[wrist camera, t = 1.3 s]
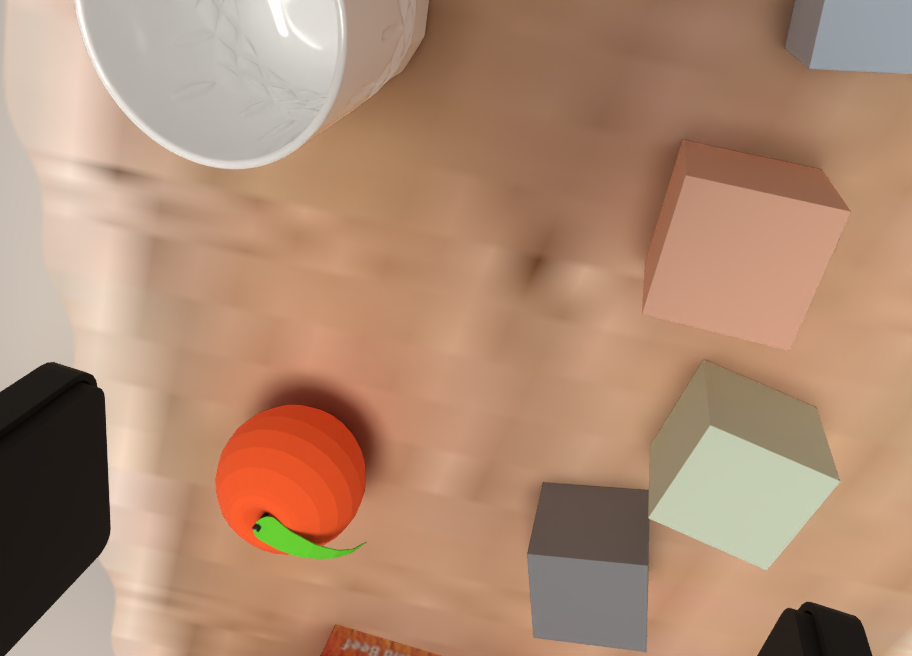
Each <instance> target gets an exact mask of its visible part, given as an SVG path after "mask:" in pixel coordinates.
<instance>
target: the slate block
mask: <svg viewBox="0 0 912 656" xmlns="http://www.w3.org/2000/svg"><path fill="white" fill-rule="evenodd" d="M785 49H786V50H787V51H788V52H789V53H791V54H792V55H793V56H794V57H796V58H797V59H798V60H799V61H800V62H802V63H803V64H804V65H805V66H806V67H808V68H809V69H823V70H842V71H861V72H880V73H899V74H912V0H795V2H794V7H793V12H792V17H791V21H790V26H789V31H788V36H787V40H786V45H785Z"/></svg>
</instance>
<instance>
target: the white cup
mask: <svg viewBox="0 0 912 656" xmlns="http://www.w3.org/2000/svg"><path fill="white" fill-rule="evenodd" d="M74 3H75V10H76V15H77V20H78V24H79V28H80V32H81V35H82V38H83V41H84V44H85V47H86V50H87V52H88V55H89V57H90V59H91V62H92V64H93V66H94V68H95V70H96V72H97V74H98V76H99V77H100V79H101V81H102V83H103V84H104V86H105V88H106V89H107V91H108V92H109V94H110V95H111V97H112V98H113V99H114V101H115V102H116V103H117V105H118V106H119V107H120V108H121V110H122V111H123V112H124V113H125V114H126V115H127V116H128V117H129V119H130V120H131V121H132V122H133V123H134V124H135V125H136V126H137V127H139V128H140V129H141V130H142V131H143V132H144V133H145V134H146V135H148V136H149V137H150V138H151V139H153V140H154V141H156V142H157V143H158V144H160V145H161V146H163V147H164V148H166V149H168V150H169V151H171V152H173V153H175V154H177V155H179V156H181V157H183V158H185V159H188V160H190V161H193V162H196V163H199V164H202V165H206V166H210V167H215V168H223V169H248V168H255V167H260V166H263V165H267V164H270V163H273V162H275V161H278V160H280V159H282V158H284V157H286V156H287V155H289V154H291V153H292V152H294V151H295V150H297V149H298V148H300V147H301V146H302V145H304V144H305V143H307V142H308V141H310V140H311V139H312V138H314V137H315V136H317V135H318V134H320V133H321V132H323V131H324V130H326V129H327V128H328V127H330V126H331V125H333V124H334V123H336V122H337V121H339V120H340V119H342V118H343V117H345V116H346V115H348V114H349V113H351V112H352V111H353V110H355V109H356V108H358V107H359V106H360V105H361V104H362V103H364V102H365V101H366V100H368V99H369V98H370V97H371V96H373V95H374V94H375V93H376V92H378V91H379V90H380V89H381V88H382V87H383V86H384V85H385V83H386V82H387V81H388V80H390V79H391V78H393V77H394V76H396V75H398V74H399V73H401V72H402V71H403V70H404V69H405V67H406V66H407V64H408V63H409V61H410V59H411V58H412V56H413V54H414V53H415V51H416V50H417V48H418V46H419V45H420V43H421V42H422V40H423V38H424V36H425V30H426V22H427V14H428V6H429V0H74Z"/></svg>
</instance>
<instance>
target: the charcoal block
mask: <svg viewBox="0 0 912 656" xmlns="http://www.w3.org/2000/svg"><path fill="white" fill-rule="evenodd" d="M648 503H649V490H641V489H628V488H614V487H600V486H587V485H573V484H559V483H546V482H543V485H542V490H541V494H540V499H539V503H538V508H537V512H536V517H535V521H534V525H533V530H532V534H531V539H530V543H529V548H528V552H527V559H528V572H529V585H530V598H531V612H532V625H533V638H540V639H548V640H556V641H564V642H571V643H579V644H587V645H595V646H603V647H611V648H619V649H627V650H634V651H642V652H646V649H647V608H648V564H649V518H648Z"/></svg>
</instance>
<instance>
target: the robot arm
mask: <svg viewBox="0 0 912 656" xmlns="http://www.w3.org/2000/svg"><path fill="white" fill-rule="evenodd" d="M110 529H111V527H110V504H109V482H108V459H107V437H106V414H105V396H104V392H103V391H102V389H100V388H98V387H97V383H96V379H95V378H94V376H93V375H91V374H89V373H86V372H83V371H80V370H77V369H74V368H71V367H67V366H64V365H61V364H58V363H55V362H51V363H46V364H43V365H41V366H40V367H38V368H36V369H35V370H33V371H32V372H30V373H29V374H27V375H26V376H24V377H23V378H21V379H20V380H18V381H17V382H15V383H14V384H12V385H10V386H9V387H7V388H6V389H5V390H3V391H1V392H0V656H5V655H6V654H7V653H8V652H9V651H10V650H11V648H12V647H13V646H14V645H15V644H16V643H17V642H18V641H19V640H20V639H21V638H22V637H23V636H24V635H25V634H26V633H27V631H28V630H29V629H30V628H31V627H32V626H33V625H34V624H35V623H36V622H37V621H38V620H39V619H40V618H41V617H42V616H43V615H44V613H45V612H46V611H47V610H48V609H49V608H50V607H51V606H52V605H53V604H54V603H55V602H56V601H57V600H58V599H59V598H60V597H61V595H62V594H63V593H64V592H65V591H66V590H67V589H68V588H69V587H70V586H71V585H72V584H73V583H74V582H75V581H76V579H77V578H78V577H79V576H80V575H81V574H82V573H83V572H84V571H85V570H86V569H87V568H88V567H89V566H90V564H92V563H93V562H94V560H95V559H96V558H97V557H98V556H99V555H100V554H101V552H102V551H103V549H104V548H105V546H106V544H107V541H108V539H109V535H110ZM757 656H872V653H871V650H870V647H869V643H868V640H867V637H866V634H865V630H864V627H863V625H862V623H861V621H860V620H859V619H858V618H857V617H856V616H853V615H850V614H847V613H844V612H841V611H838V610H835V609H831V608H828V607H825V606H822V605H819V604H816V603H812V602H805V603H804V604H802V605H801V607H800V608H799V609H798V610H795V609H792V608H787V609H785V610H784V611H783V613H782V614H781V616H780V617H779V619H778V621H777V623H776V624H775V626H774V628H773V630H772V631H771V633H770V635H769V636H768V638H767V640H766V642H765V643H764V645H763V647H762V649H761V650H760V652H759V654H758V655H757Z"/></svg>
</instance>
